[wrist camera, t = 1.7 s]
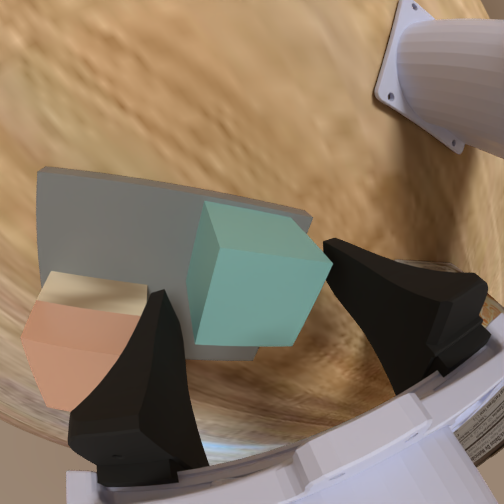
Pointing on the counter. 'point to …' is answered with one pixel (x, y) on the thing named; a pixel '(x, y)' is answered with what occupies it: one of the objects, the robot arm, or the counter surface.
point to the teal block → (251, 277)
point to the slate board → (133, 236)
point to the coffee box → (496, 409)
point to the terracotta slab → (73, 349)
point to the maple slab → (94, 293)
